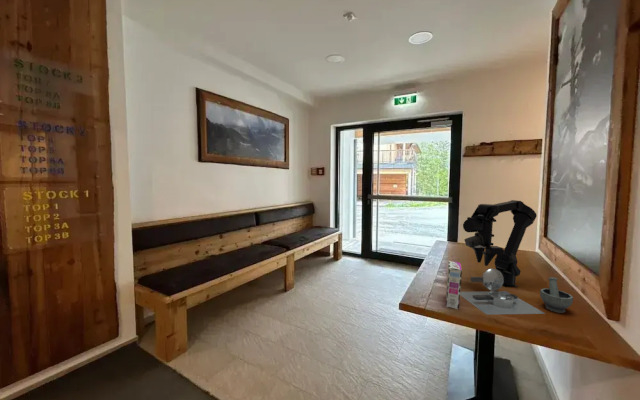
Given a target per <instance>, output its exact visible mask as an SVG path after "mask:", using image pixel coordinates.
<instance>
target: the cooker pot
mask: <svg viewBox="0 0 640 400" xmlns="http://www.w3.org/2000/svg"><path fill="white" fill-rule="evenodd" d="M488 292H489V293H488V295H473V298H474V299H475V300H487V301H488V302H489V303H491V304H492V305H495V306H498V307H502V308H512V307H513V302H514V299H518V298H519V296H518V295H516V294H514V293H513V294H512V293H510V294H507V293H503V292H499V291H498V290H489V291H488Z"/></svg>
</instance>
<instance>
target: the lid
mask: <svg viewBox="0 0 640 400" xmlns="http://www.w3.org/2000/svg"><path fill="white" fill-rule="evenodd" d="M470 282H471V283H482V284H483V286H484V287H485V288H486V289H487V290H489V291H493V290H496V291H498V290H500V289H501V288H502V287H503V286H502V285H503V282H504V278H503V275H502V273H501V272H500V271H499V270H497V269H496V268H493V267H492V268H491V267H490V268H488V269H486V270H485V271H484V272H483V273H482V276H470Z"/></svg>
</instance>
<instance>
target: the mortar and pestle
mask: <svg viewBox="0 0 640 400" xmlns="http://www.w3.org/2000/svg"><path fill="white" fill-rule="evenodd" d="M547 279H548V281H549V285H548V286H549V288H541V289H540V291H539V294H540V295H539V296H540V298H541V300H542V302H543V303H544V304H545V305H544V307H545V309H547V310H549V311H551V312H554V313H559V314H563V313H566V309H568V308H570V307H571V306H572V305H573V302H574V297H573V295H572V294H570V293H568V292H565V291H563V290H559V286H558V278H557V277H555V276H551V277H548V278H547Z"/></svg>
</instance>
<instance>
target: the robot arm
mask: <svg viewBox="0 0 640 400" xmlns="http://www.w3.org/2000/svg"><path fill="white" fill-rule="evenodd" d="M506 212H510V213H511V214H512V215H513V216H512V220H513V224H514V225H513V227H512V230H511V233H510V234H509V237H508V238H507V243H506V245H505V248H503V247H500V246H498V245H494V242H492V241H493V240H492V239H493V238H494V237H495V234H493V223H496V222H497V220H496V217H497V216H499V214H502V213H506ZM536 218H537V213H536V211H535V210H534V209H533V208H532V207H530V206H528V205H526V204H525V203H524V201H521V200H515V199H510V200H508V201H503V202H499V203H494V204H492V203H480V204H478V205H477V207H476V209H475V210H474V212H473V213H472V215H471V217H469V216H467V217H466V220H465V221H463V224H462V227H463V230H464V232H466V233H474V235H473V236H469V237H467V238H465V239H464V243H465V247H469V248H471V249H472V250H473V251H474V254H475V257H476V261H477V263H481V262H482V260H483V259H482V258H484V260H483V261H484V266H485V267H488V266H489V264H490V263H491V262H492V260H493V259H494V267H495V269H497V270H499V271H500V272H501V273H502V275H503V278H504V282H503V285H502V287H503V288H518V285H516V278H517V277H519V276H520V275H521V272H522V271H521V270H520V268H519V267H518V266H517V265H518V259H517V253H518V250H519V249H520V245H521V243H522V241H523V238H524V235H525V233H526V230H527V228H529V227H530V226H532V225H533V224H534V223H535V220H536ZM495 256H496V257H495ZM494 257H495V258H494Z"/></svg>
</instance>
